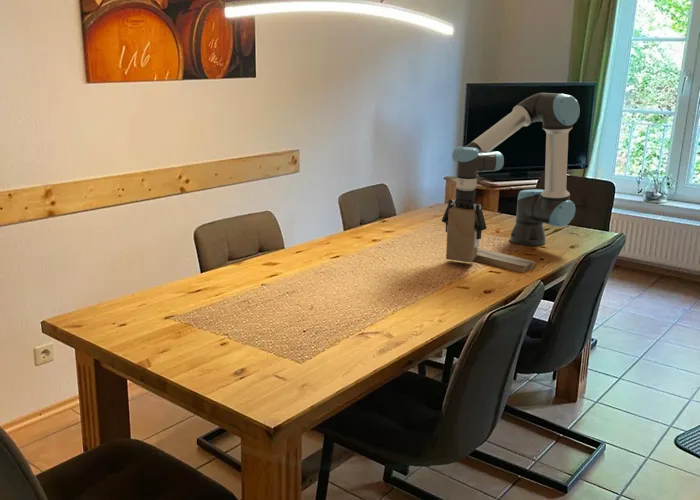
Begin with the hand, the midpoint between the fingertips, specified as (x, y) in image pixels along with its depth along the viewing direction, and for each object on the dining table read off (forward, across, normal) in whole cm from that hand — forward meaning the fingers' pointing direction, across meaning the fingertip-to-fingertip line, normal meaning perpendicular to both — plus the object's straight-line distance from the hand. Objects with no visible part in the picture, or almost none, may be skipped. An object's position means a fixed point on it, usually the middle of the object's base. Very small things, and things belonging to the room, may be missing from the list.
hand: (462, 243), depth 268 cm
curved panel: (+8, +9, +12) cm, 17 cm away
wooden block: (+6, 0, 0) cm, 6 cm away
